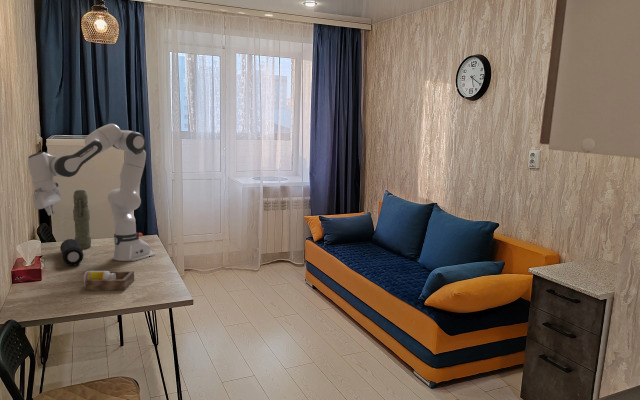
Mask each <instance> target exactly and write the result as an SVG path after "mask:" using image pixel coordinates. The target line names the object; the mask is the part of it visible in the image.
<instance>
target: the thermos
mask: <svg viewBox="0 0 640 400" xmlns="http://www.w3.org/2000/svg"><path fill="white" fill-rule="evenodd" d="M72 199H73V204H74V205H73V210H72V215H73V216H72V217H73V222H74V234H75V236H74V240H76V241H77V242H78V243H79V244H80V247H81V249H82V250H87V249H90V247H91V248H92V238H91V234H90V233H91V232H90V218H91V217H90V208H89V203H88V202H89V201H88V200H89V199H88V193H87V191H86V190H85V189H78V190H75V191H74V193H73V197H72Z"/></svg>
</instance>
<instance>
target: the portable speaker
mask: <svg viewBox="0 0 640 400" xmlns="http://www.w3.org/2000/svg"><path fill="white" fill-rule="evenodd" d="M59 248H60V252H61V253H60V254H61V256H62V260H63V262H64V263H65V264H67V265H68V266H76V265H79V264H80V263H81V262H82V261H83V260H84V252H83V249H81V247H80V244H79V243H78V242H77V241H76V240H75V238H74V239H72V238H67V239H66V240H65V239H64V240H63V242H62V243H60V247H59Z"/></svg>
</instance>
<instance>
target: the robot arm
mask: <svg viewBox="0 0 640 400" xmlns="http://www.w3.org/2000/svg"><path fill="white" fill-rule="evenodd" d="M145 146H146V139H145V137H144V135H143V134H142V133H140V132H138V131H134V130H124V129H121V128H120V127H119V126H118V125H117V124H115V123H108V124H105V125H103V126H101V127H99V128H97V129H95V130H94V131H92V132H91V133H89V134H88V135H87V136H86V137H85V139H84V146H83V147H82V148H80V149H78V150H77V151H76V152H74V153H73V154H70V155H63V156H57V155H52V154H49V153H47V152H45V151H40V152H36V153H33V154H31V155H29V156H28V157H27V164H28V171H29V174H30V176H31V179H32V180H31V183H32V187H33V191H34V192H33V194H32V200H33V205H34V208H35V209H36V210H43V209H44V210H45V212H46V213H47V215H48V216H52V215H54V214H55V211H54V210H55V204H58V203H60V202H62V196H61V191H60V183H59V182H58V181H55V180H54V177H62V178H63V177H66V178H71V177H74V176H75V175H77V173H78V172H80V170H81V167H83V165H84V164H85V163H88V161H90V160H92V158H94V157H95V156H97V155H99V154H101V153H103V152H105V151H107V150H108V149H110V148H111V147H113V148H114V149H117V150H121V151H125V153H124V154H125V158H124V159H123V160H124V161H123V164H122V167H121V170H120V174H119V180H120V181H119V182H120V183H119V184H120V187H119V188H115V189H111V191H110V192H109V193H108V195H107V200H108V203H109V204H110V208H111V213H112V216H113V223H114V234H113V241H114V251H113V255H112V260H114V261H120V262H121V261H123V262H125V261H129V262H130V261H131V262H135V261H139V260H142V259H145V258H146V259H147V258H150V257H152V256H155V255H156V254H155V252H154V251H152V250H151V247H150V245H149V244H148V243H147V242H146V241H144V240H143V239H142V237H143V236H144V235H143V233H142V232H137V224H136V218H135V215H134V213H133V211H135V210H137V209H138V208H140V206H141V204H142V199H141V197H140V196H141V195H140V192H141V191H140V190H141V189H140V188H141V180H142V176H143V173H144V169H145V166H146V159H147V152H146V150H145ZM149 256H150V257H149Z"/></svg>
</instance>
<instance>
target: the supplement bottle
mask: <svg viewBox="0 0 640 400" xmlns="http://www.w3.org/2000/svg"><path fill="white" fill-rule="evenodd" d="M115 279H116V274H115V273H110V272H109V270H87V271H85V273H84V274H83V284H85V280H115Z"/></svg>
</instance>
